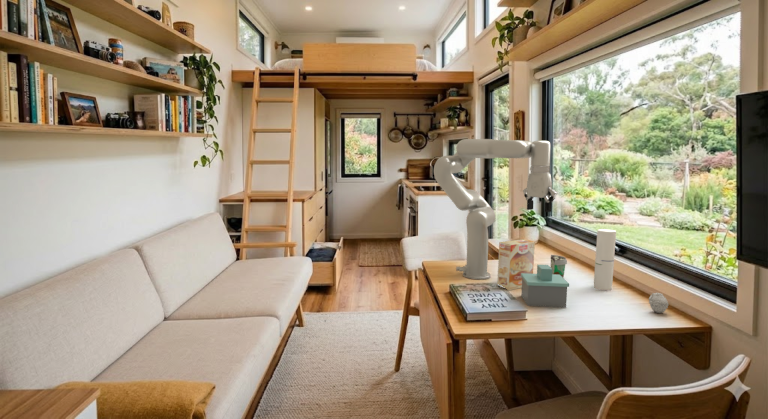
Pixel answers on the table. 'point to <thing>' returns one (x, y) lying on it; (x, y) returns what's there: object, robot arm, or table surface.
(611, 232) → the cylindrical container
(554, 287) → the storage box
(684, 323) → the table surface
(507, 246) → the coffeecake box
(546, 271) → the lid
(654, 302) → the grey rock
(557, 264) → the food container
